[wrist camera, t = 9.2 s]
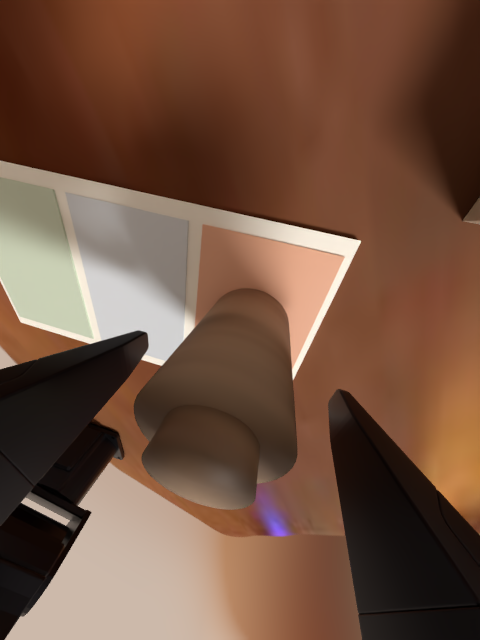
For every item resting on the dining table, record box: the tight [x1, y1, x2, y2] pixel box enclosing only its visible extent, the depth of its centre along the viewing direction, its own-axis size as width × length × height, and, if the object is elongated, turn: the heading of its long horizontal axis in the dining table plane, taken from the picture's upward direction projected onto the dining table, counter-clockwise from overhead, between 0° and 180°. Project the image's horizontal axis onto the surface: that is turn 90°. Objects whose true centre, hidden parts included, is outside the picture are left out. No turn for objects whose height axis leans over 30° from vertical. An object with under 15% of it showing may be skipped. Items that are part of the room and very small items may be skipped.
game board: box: [0, 161, 361, 379], centre depth 12 cm, size 12×24×1 cm, turn 79°
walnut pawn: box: [134, 288, 297, 510], centre depth 8 cm, size 5×5×8 cm
